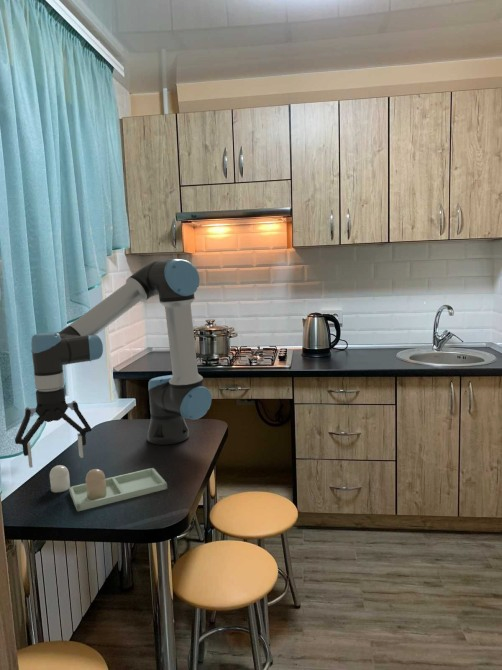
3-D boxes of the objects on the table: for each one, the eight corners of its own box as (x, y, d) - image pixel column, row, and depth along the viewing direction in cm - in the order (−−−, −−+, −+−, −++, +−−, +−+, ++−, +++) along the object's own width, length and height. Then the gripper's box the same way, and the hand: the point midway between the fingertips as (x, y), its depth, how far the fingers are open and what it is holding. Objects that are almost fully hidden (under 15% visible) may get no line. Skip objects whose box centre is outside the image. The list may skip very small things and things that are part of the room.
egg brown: (104, 490, 146) (102, 464, 145) (108, 497, 141) (106, 470, 140) (85, 494, 143) (83, 468, 142) (89, 501, 139) (86, 475, 138)
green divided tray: (153, 475, 156) (153, 467, 156) (167, 491, 145) (167, 483, 144) (69, 495, 145) (69, 487, 145) (77, 514, 134) (76, 505, 133)
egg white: (69, 485, 152) (66, 461, 151) (71, 492, 147) (69, 466, 146) (50, 489, 149) (47, 464, 148) (52, 496, 145) (49, 471, 144)
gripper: (93, 379, 153) (98, 448, 156) (0, 391, 142) (7, 465, 144) (98, 384, 146) (103, 456, 149) (1, 397, 135) (9, 474, 138)
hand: (56, 461), depth 147 cm, fingers open, 13 cm apart
